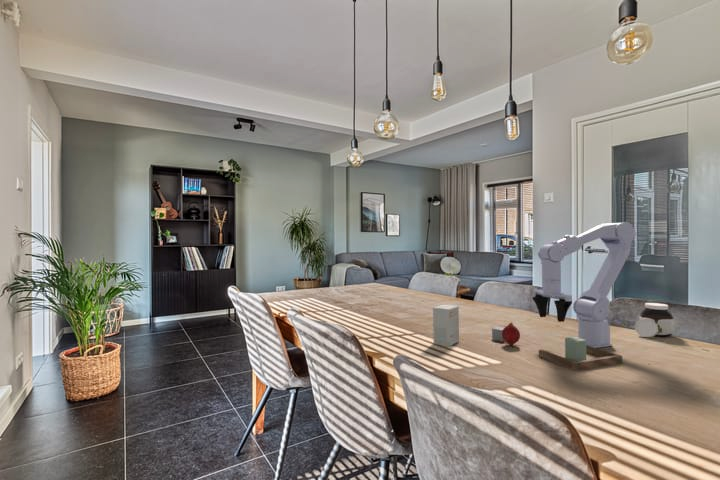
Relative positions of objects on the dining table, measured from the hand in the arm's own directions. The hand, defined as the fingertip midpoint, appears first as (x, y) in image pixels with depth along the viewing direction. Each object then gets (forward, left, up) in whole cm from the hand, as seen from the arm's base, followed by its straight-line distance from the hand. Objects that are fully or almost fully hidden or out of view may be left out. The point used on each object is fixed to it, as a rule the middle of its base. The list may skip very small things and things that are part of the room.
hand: (551, 319), depth 125 cm
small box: (+31, -17, -10) cm, 37 cm away
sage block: (+3, +12, -10) cm, 16 cm away
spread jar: (-46, +3, -10) cm, 47 cm away
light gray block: (+10, -14, -10) cm, 20 cm away
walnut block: (+3, +13, -9) cm, 16 cm away
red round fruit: (+12, -6, -10) cm, 16 cm away
